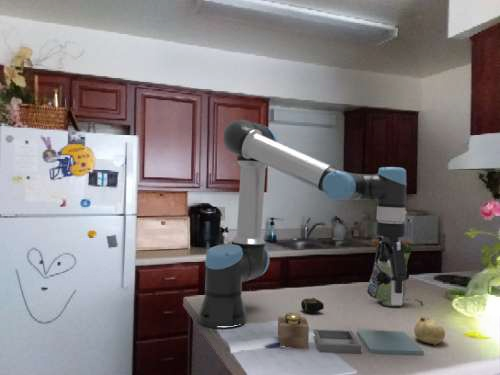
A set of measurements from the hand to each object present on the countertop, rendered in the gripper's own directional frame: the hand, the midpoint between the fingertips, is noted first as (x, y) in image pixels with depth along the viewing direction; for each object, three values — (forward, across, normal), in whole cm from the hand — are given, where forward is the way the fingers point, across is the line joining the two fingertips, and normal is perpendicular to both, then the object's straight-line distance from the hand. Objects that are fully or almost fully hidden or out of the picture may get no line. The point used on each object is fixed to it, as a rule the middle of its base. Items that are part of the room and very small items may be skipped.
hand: (388, 297), depth 109 cm
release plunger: (+13, -2, +27) cm, 30 cm away
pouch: (+13, +40, -14) cm, 44 cm away
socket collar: (+13, -2, +15) cm, 20 cm away
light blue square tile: (+13, 0, 0) cm, 13 cm away
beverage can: (+2, +8, 0) cm, 8 cm away
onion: (+13, +2, -13) cm, 19 cm away
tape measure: (+13, +26, +15) cm, 32 cm away
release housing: (+13, -2, +27) cm, 30 cm away
